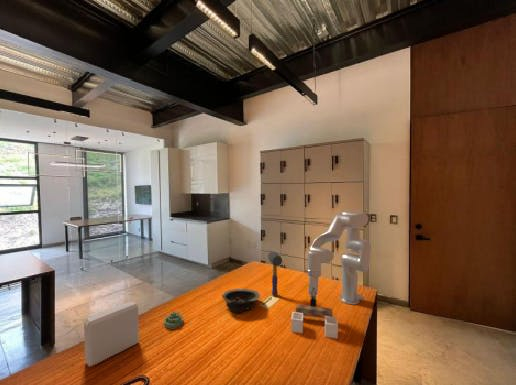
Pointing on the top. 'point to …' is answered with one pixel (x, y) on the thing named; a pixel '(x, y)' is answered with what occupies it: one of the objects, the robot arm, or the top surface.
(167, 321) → the decorative artifact
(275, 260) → the rubber mallet
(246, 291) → the stone bowl
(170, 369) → the top surface
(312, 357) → the top surface
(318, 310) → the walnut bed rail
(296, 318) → the twin hollow square sockets
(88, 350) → the bevelled white case
